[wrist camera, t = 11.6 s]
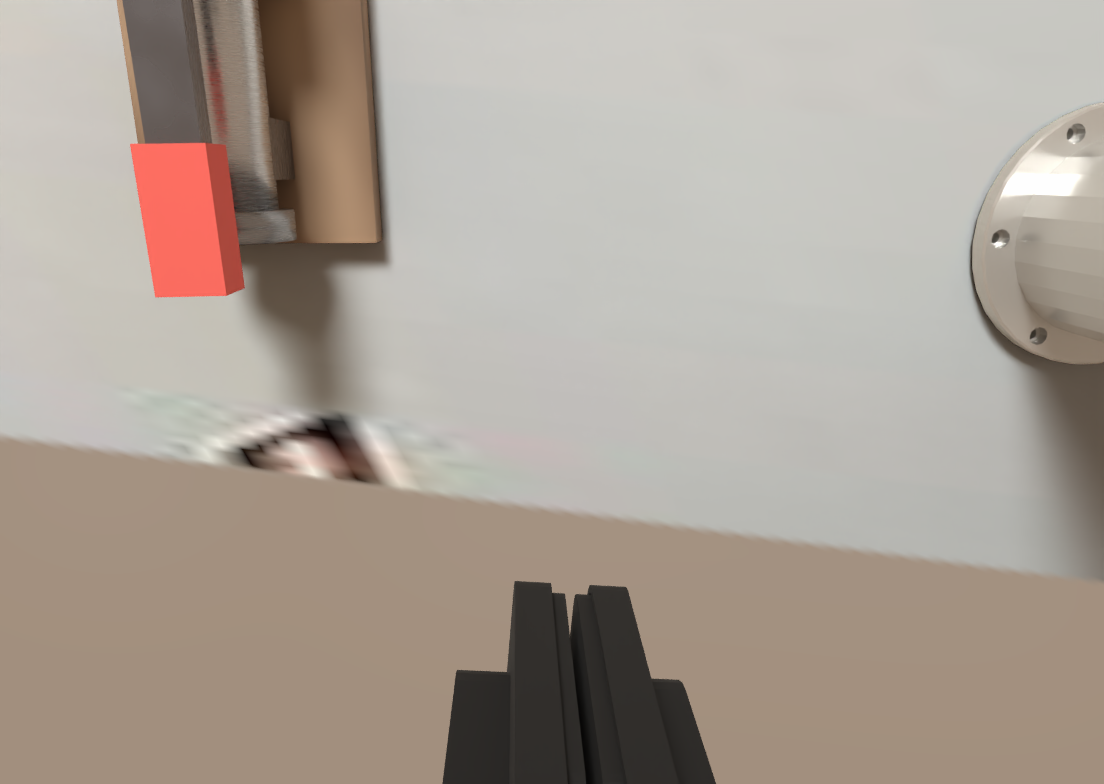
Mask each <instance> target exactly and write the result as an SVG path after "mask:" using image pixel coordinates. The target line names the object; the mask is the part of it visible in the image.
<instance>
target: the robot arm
mask: <svg viewBox="0 0 1104 784" xmlns="http://www.w3.org/2000/svg"><path fill="white" fill-rule="evenodd" d="M993 236H994V237H993ZM992 237H993V240H992ZM972 270H973V275H974V281H975V286H976V291H977V294H978V296H979V299H980V301H981V303H982V306H983V308H984V311H985V312H986V314H987V315H988V317H989V318H990V320H991V321H992V322H993V324H994V325H995V327H996V328H997V329H998V330H999V331H1000V332H1001V333H1002V334H1003V335H1004V336H1005V337H1007V338H1008V339H1009V340H1010V341H1011V342H1012V343H1014V344H1015V345H1017V346H1019V347H1021V348H1023V349H1024V350H1026V351H1028V352H1030V353H1032V354H1035V355H1038V356H1041V357H1044V358H1046V359H1049V360H1052V361H1058V362H1063V363H1068V364H1099V363H1104V102H1103V103H1098V104H1093V105H1088V106H1086V107H1083V108H1081V109H1078V110H1076V111H1073V112H1071V113H1068V114H1066V115H1064V116H1062V117H1060V118H1059V119H1057V120H1055V121H1054V122H1052V123H1051V124H1049V125H1047V126H1046V127H1044V128H1043V129H1041V130H1039V131H1038V132H1037V133H1036V134H1035V135H1034V136H1033V137H1032V138H1030V139H1029V140H1028V141H1027V142H1026V143H1025V144H1024V145H1022V146H1021V147H1020V148H1019V149H1018V150H1017V151H1016V153H1015V154H1014V155H1013V156H1012V158H1011V159H1010V160H1009V161H1008V162H1007V164H1006V165H1005V166H1004V167H1003V168H1002V170H1001V171H1000V173H999V175H998V176H997V178H996V180H995V181H994V183H993V185H992V186H991V188H990V190H989V192H988V193H987V196H986V198H985V201H984V203H983V206H982V209H981V211H980V214H979V216H978V219H977V224H976V229H975V234H974V239H973V251H972ZM443 784H716V782H715V779H714V776H713V773H712V770H711V767H710V764H709V761H708V758H707V755H706V752H705V749H704V746H703V743H702V740H701V737H700V733H699V730H698V727H697V724H696V721H695V718H694V715H693V712H692V709H691V705H690V702H689V699H688V696H687V693H686V690H685V688H684V686H683V683H682V682H681V681H679V680H669V679H651V676H650V672H649V668H648V665H647V661H646V657H645V653H644V650H643V646H642V642H641V638H640V634H639V631H638V627H637V623H636V619H635V615H634V612H633V608H632V604H631V600H630V597H629V593H628V590H627V588H626V587H616V586H597V585H590V586H589V589H588V594H587V595H581V594H576V595H575V598H574V605H573V616H572V623H571V633H570V634H569V625H568V617H567V607H566V599H565V594H562V593H552V587H551V583H540V582H521V581H515V584H514V594H513V605H512V617H511V630H510V642H509V654H508V667H507V672H490V671H468V670H457V672H456V678H455V686H454V695H453V703H452V711H451V719H450V727H449V735H448V744H447V752H446V760H445V768H444V776H443Z"/></svg>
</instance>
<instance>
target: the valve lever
mask: <svg viewBox="0 0 1104 784" xmlns="http://www.w3.org/2000/svg"><path fill="white" fill-rule="evenodd" d="M122 2H123V8H124V14H125V20H126V27H127V33H128V39H129V45H130V52H131V58H132V64H133V70H134V77H135V83H136V89H137V95H138V101H139V108H140V114H141V120H142V126H143V133H144V139H145V144H130V147H131V153H132V159H133V165H134V171H135V177H136V183H137V189H138V195H139V201H140V207H141V213H142V219H143V225H144V231H145V237H146V243H147V249H148V255H149V261H150V267H151V273H152V279H153V285H154V291H155V297H189V296H227V295H229V294H232V293H234V292H236V291H239V290H241V289H243V288H245V287H244V279H243V272H242V264H241V256H240V249H239V241H238V234H237V226H236V218H235V211H234V203H233V195H232V188H231V180H230V173H229V165H228V157H227V150H226V145H222V144H212V136H211V129H210V121H209V114H208V107H207V99H206V92H205V85H204V77H203V70H202V63H201V55H200V48H199V41H198V33H197V26H196V19H195V11H194V4H193V0H122Z"/></svg>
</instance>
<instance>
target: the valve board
mask: <svg viewBox="0 0 1104 784" xmlns="http://www.w3.org/2000/svg"><path fill="white" fill-rule="evenodd" d="M193 4H194V11H195V19H196V26H197V33H198V41H199V48H200V55H201V63H202V70H203V77H204V85H205V92H206V99H207V107H208V114H209V121H210V129H211V136H212V144H222V145H226V150H227V157H228V165H229V173H230V180H231V188H232V195H233V203H234V211H235V218H236V226H237V234H238V241H239V245H248V244H266V243H377V242H379V241H381V240H382V227H381V212H380V196H379V181H378V165H377V150H376V134H375V119H374V103H373V87H372V72H371V56H370V41H369V25H368V10H367V0H193ZM117 6H118V12H119V19H120V26H121V32H122V39H123V46H124V52H125V59H126V66H127V72H128V79H129V86H130V92H131V99H132V106H133V113H134V119H135V126H136V133H137V139H138V144H145V139H144V133H143V126H142V120H141V114H140V108H139V101H138V95H137V89H136V83H135V77H134V70H133V64H132V58H131V52H130V45H129V39H128V33H127V27H126V20H125V14H124V8H123V2H122V0H117Z"/></svg>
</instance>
